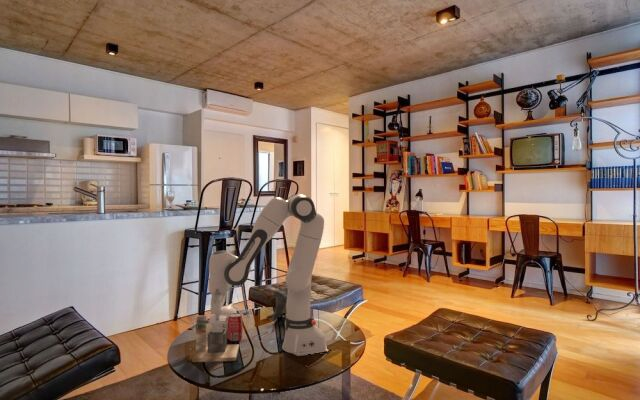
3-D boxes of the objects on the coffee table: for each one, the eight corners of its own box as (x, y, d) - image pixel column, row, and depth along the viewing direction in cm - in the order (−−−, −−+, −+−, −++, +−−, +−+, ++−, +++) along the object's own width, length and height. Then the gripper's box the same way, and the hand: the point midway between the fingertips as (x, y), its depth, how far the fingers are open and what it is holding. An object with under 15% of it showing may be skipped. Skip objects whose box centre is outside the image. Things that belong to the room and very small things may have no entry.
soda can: (237, 335, 183) (237, 311, 183) (245, 339, 178) (245, 315, 178) (224, 339, 178) (225, 314, 178) (232, 343, 173) (232, 318, 173)
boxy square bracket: (226, 336, 167) (227, 315, 167) (224, 342, 160) (225, 320, 160) (199, 336, 165) (200, 315, 165) (196, 342, 158) (196, 321, 158)
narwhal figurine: (297, 319, 210) (297, 288, 210) (272, 323, 202) (273, 291, 202) (286, 312, 222) (287, 283, 222) (262, 316, 214) (263, 285, 214)
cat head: (224, 336, 182) (224, 312, 182) (206, 331, 189) (206, 307, 189) (245, 327, 194) (245, 304, 194) (227, 323, 201) (228, 300, 201)
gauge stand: (239, 347, 169) (239, 310, 169) (235, 360, 155) (236, 320, 155) (198, 348, 167) (199, 311, 167) (191, 362, 153) (192, 321, 153)
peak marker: (201, 328, 160) (201, 325, 160) (201, 328, 159) (201, 326, 159) (197, 328, 159) (197, 326, 159) (197, 328, 159) (197, 326, 159)
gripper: (222, 292, 153) (221, 325, 153) (228, 281, 173) (228, 310, 173) (207, 293, 152) (206, 326, 152) (215, 281, 172) (214, 311, 172)
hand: (218, 317), depth 163 cm, fingers closed, pressing on boxy square bracket
